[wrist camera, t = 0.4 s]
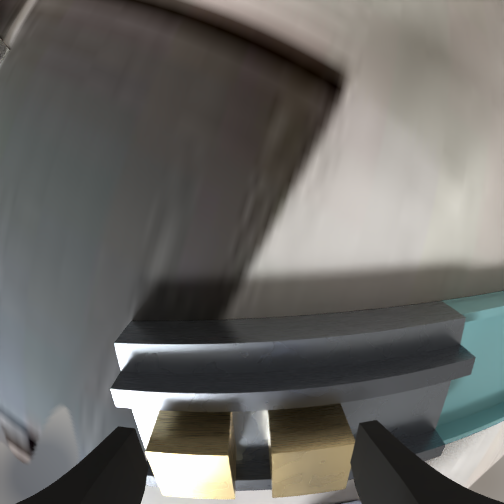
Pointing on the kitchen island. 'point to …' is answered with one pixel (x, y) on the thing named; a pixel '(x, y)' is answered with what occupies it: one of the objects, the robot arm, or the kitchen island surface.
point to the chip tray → (477, 370)
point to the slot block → (297, 374)
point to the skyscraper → (3, 50)
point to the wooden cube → (194, 454)
